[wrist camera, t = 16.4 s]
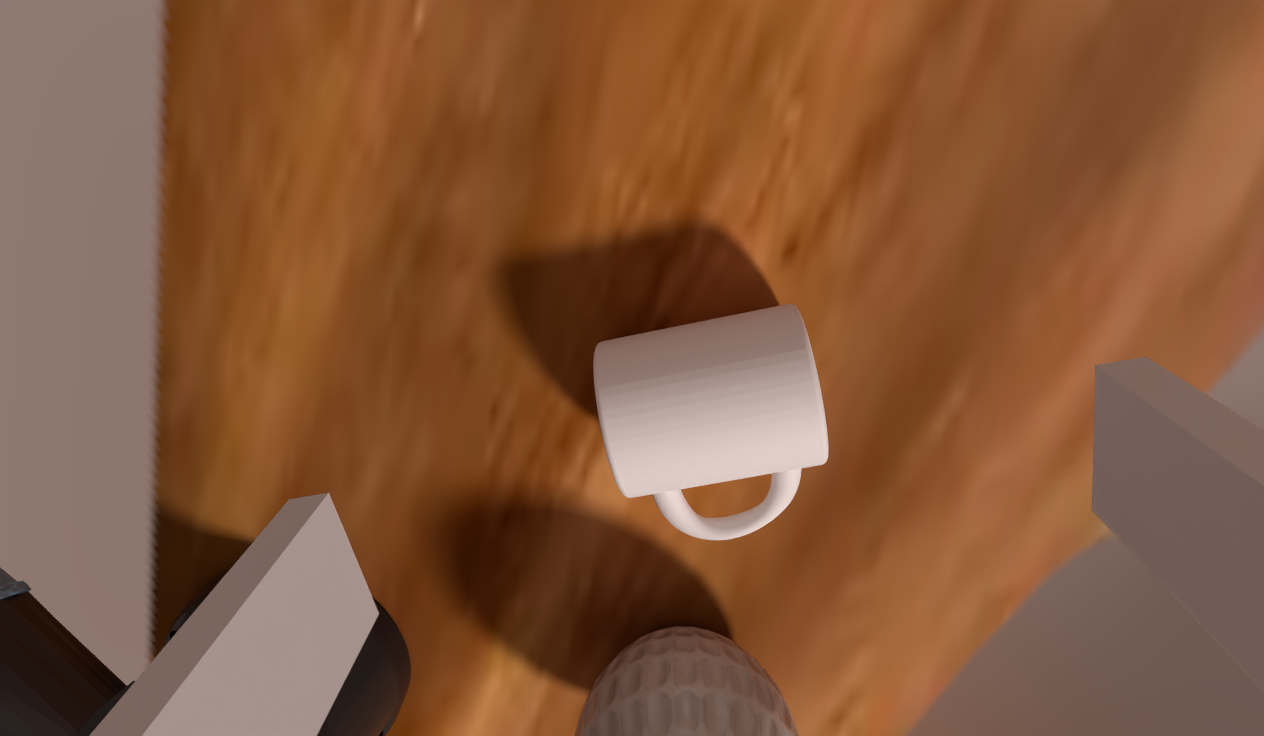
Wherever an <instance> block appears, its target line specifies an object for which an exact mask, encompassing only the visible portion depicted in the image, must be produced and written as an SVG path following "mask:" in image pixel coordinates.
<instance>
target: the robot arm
mask: <svg viewBox="0 0 1264 736" xmlns="http://www.w3.org/2000/svg"><path fill="white" fill-rule="evenodd" d="M1092 511H1093V512H1094V513H1095V514H1096V515H1097V516H1098V517H1099V518H1100V519H1101V520H1102V521H1103V522H1104V523H1105V525H1106V526H1107V527H1108V528H1109V529H1110V530H1111V531H1112V532H1113V533H1114V534H1115V535H1116V536H1117V537H1118V538H1119V539H1120V540H1121V541H1122V543H1123V544H1125V546H1126V547H1127V548H1128V549H1129V550H1130V551H1131V552H1132V553H1133V554H1134V555H1135V556H1136V557H1137V558H1138V559H1139V561H1140V562H1141V563H1142V564H1143V565H1144V566H1145V567H1146V568H1147V569H1148V570H1149V571H1150V572H1151V573H1152V574H1153V575H1154V576H1155V578H1156V579H1157V580H1158V581H1159V582H1160V583H1161V584H1162V585H1163V586H1164V587H1165V588H1166V589H1167V590H1168V591H1169V592H1170V593H1171V594H1172V596H1173V597H1174V598H1175V599H1176V600H1177V601H1178V602H1179V603H1180V604H1181V605H1182V606H1183V607H1184V608H1185V609H1186V611H1187V612H1188V613H1189V614H1190V615H1191V616H1192V617H1193V618H1194V619H1195V620H1196V621H1197V622H1198V623H1199V624H1200V625H1201V626H1202V627H1203V629H1204V630H1205V631H1206V632H1207V633H1208V634H1209V635H1210V636H1211V637H1212V638H1213V639H1214V640H1215V641H1216V642H1217V643H1218V644H1219V645H1220V646H1221V647H1222V649H1223V650H1224V651H1225V652H1226V653H1227V654H1228V655H1229V656H1230V657H1231V658H1232V659H1233V660H1234V661H1235V663H1237V665H1238V666H1239V667H1240V668H1241V669H1242V670H1243V671H1244V672H1245V673H1246V674H1247V675H1248V676H1249V677H1250V678H1251V679H1252V681H1253V682H1254V683H1255V684H1256V685H1257V686H1258V687H1259V688H1260V689H1261V690H1262V691H1263V692H1264V430H1263V429H1261V428H1259V427H1257V426H1256V425H1255V424H1253V423H1251V422H1250V421H1248V420H1247V419H1245V418H1243V417H1242V416H1240V415H1238V414H1237V413H1235V412H1234V411H1232V410H1230V409H1229V408H1227V407H1225V406H1224V405H1222V404H1221V403H1219V402H1218V401H1216V400H1214V399H1213V398H1211V397H1210V396H1208V395H1206V394H1205V393H1203V392H1202V391H1200V390H1198V389H1197V388H1195V387H1194V386H1192V385H1190V384H1189V383H1187V382H1186V381H1184V380H1182V379H1181V378H1179V377H1178V376H1176V375H1174V374H1173V373H1171V372H1170V371H1168V370H1166V369H1165V368H1163V367H1162V366H1160V365H1158V364H1157V363H1155V362H1154V361H1152V360H1150V359H1149V358H1147V357H1142V358H1136V359H1130V360H1124V361H1118V362H1112V363H1106V364H1100V365H1095V401H1094V442H1093V483H1092ZM30 590H31V588H30V587H29V586H28V585H27V584H26V583H25V582H23V581H20V582H17V581H16V580H15V579H13V578H12V577H11V576H10V575H9V574H7V573H6V572H5V571H4V570H2V569H1V568H0V736H385V735H386V734H387V733H388V731H389V730H390V728H391V727H392V725H393V723H394V722H395V720H396V717H397V715H398V713H399V710H400V708H401V705H402V703H403V701H404V698H405V696H406V693H407V690H408V687H409V683H410V675H411V667H410V658H409V654H408V650H407V647H406V644H405V641H404V639H403V637H402V635H401V633H400V631H399V629H398V628H397V626H396V625H395V623H394V622H393V621H392V619H391V618H390V617H389V615H388V614H387V613H386V612H385V611H384V610H383V609H382V608H381V607H380V606H379V605H378V604H377V603H376V602H375V601H374V600H373V598H372V595H371V593H370V591H369V588H368V586H367V583H366V581H365V579H364V576H363V574H362V571H361V569H360V567H359V564H358V562H357V559H356V557H355V555H354V552H353V550H352V547H351V545H350V543H349V540H348V538H347V535H346V533H345V531H344V528H343V526H342V523H341V521H340V519H339V516H338V514H337V512H336V509H335V507H334V504H333V502H332V500H331V497H330V495H329V493H325V494H319V495H313V496H307V497H301V498H295V499H289V500H288V501H287V503H286V504H285V505H284V506H283V507H282V509H281V510H280V511H279V512H278V513H277V514H276V516H275V517H274V518H273V519H272V520H271V522H270V523H269V524H268V525H267V526H266V527H265V529H264V530H263V531H262V532H261V533H260V535H259V536H258V537H257V538H256V539H255V540H254V542H253V543H252V544H251V545H250V546H249V548H248V549H247V550H246V551H245V552H244V553H243V555H242V556H241V557H240V558H239V559H238V561H237V562H236V563H235V564H234V565H233V566H232V568H231V569H230V570H229V571H228V572H226V573H223V574H221V575H220V576H218V577H216V578H214V579H213V580H211V581H210V582H209V583H207V584H206V585H205V586H204V587H203V588H202V589H201V590H200V591H199V592H198V593H197V594H196V595H195V596H194V598H193V599H192V600H191V601H190V602H189V603H188V605H187V606H186V607H185V608H184V609H183V610H182V612H181V613H180V614H179V615H178V617H177V618H176V620H175V621H174V623H173V624H172V626H171V628H170V630H169V632H168V635H167V637H166V640H165V643H164V647H163V649H162V650H161V652H160V653H159V654H158V655H157V656H156V657H155V659H154V660H153V661H152V662H151V663H150V665H149V666H148V667H147V668H146V669H145V671H144V672H143V673H142V674H141V675H140V677H139V678H138V679H137V680H136V681H133V682H131V683H130V684H129V685H128V686H126V685H125V684H124V683H123V682H122V681H121V680H120V679H119V678H118V677H117V676H116V675H115V674H114V673H113V672H112V671H110V670H109V669H108V668H107V667H106V666H105V665H104V664H103V663H102V662H101V661H100V660H99V659H98V658H97V657H96V656H95V655H93V654H92V653H91V652H90V651H89V650H88V649H87V648H86V647H85V646H84V645H83V644H82V643H81V642H79V640H78V639H77V638H75V637H74V636H73V635H72V634H71V633H70V632H69V631H68V630H67V629H66V628H65V627H64V626H63V625H61V623H60V622H59V621H57V620H56V619H55V618H54V617H53V616H52V615H51V614H50V613H49V612H48V611H47V610H46V609H45V608H44V607H43V606H42V605H41V604H40V603H39V602H38V601H37V600H36V599H35V598H34V597H33V596H32V595H31V594H30V593H29V592H28V591H30Z"/></svg>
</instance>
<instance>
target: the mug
mask: <svg viewBox="0 0 1264 736" xmlns="http://www.w3.org/2000/svg"><path fill="white" fill-rule="evenodd" d="M593 372H594V387H595V396H596V404H597V410H598V416H599V422H600V427H601V432H602V437H603V442H604V446H605V450H606V454H607V457H608V461H609V464H610V468H611V471H612V474H613V476H614V479H615V481H616V484H617V486H618V488H619V490H620V491H621V493H622V494H623V495H624V496H626V497H628V498H633V497H639V496H645V495H650V494H652V495H653V497H654V499H655V502H656V504H657V506H658V507H659V509H660V511H661V512H662V514H663V515H664V516H665V518H666V519H667V520H668V521H669V522H670V523H671V524H672V525H673V526H675V527H676V528H677V529H679V530H680V531H682V532H684V533H686V534H688V535H691V536H693V537H697V538H701V539H707V540H727V539H733V538H737V537H741V536H744V535H746V534H749V533H751V532H753V531H755V530H757V529H759V528H761V527H763V526H764V525H766V524H767V523H769V522H770V521H772V520H773V519H774V518H776V517H777V516H778V515H779V514H780V513H781V512H782V511H783V510H784V509H785V508H786V507H787V506H788V505H789V503H790V502H791V500H792V499H793V497H794V495H795V493H796V491H797V489H798V486H799V482H800V477H801V468H805V467H811V466H817V465H822V464H824V463H825V462H826V461H827V458H828V435H827V426H826V419H825V412H824V406H823V400H822V394H821V389H820V384H819V379H818V374H817V370H816V365H815V361H814V356H813V352H812V348H811V345H810V341H809V337H808V334H807V331H806V327H805V324H804V321H803V319H802V316H801V314H800V312H799V310H798V308H797V307H796V306H795V305H794V304H785V305H780V306H775V307H770V308H765V309H760V310H755V311H750V312H745V313H741V314H736V315H731V316H726V317H721V318H716V319H711V320H706V321H701V322H696V323H691V324H686V325H681V326H676V327H671V328H666V329H661V330H656V331H651V332H646V333H641V334H636V335H631V336H626V337H621V338H616V339H611V340H606V341H602V342H599V343H598V344H597V346H596V348H595V352H594V361H593ZM771 473H772V480H771V486H770V489H769V492H768V495H767V497H766V498H765V500H764V501H763V502H762V503H761V504H759V505H758V506H756V507H755V508H753V509H750V510H748V511H745V512H742V513H739V514H736V515H732V516H727V517H721V518H705V517H702V516H699V515H698V514H696V513H695V512H694V511H693V510H692V509H691V507H690V506H689V505H688V503H687V501H686V500H685V498H684V496H683V494H682V492H681V489H685V488H691V487H696V486H702V485H708V484H714V483H719V482H725V481H731V480H737V479H742V478H748V477H754V476H760V475H765V474H771Z"/></svg>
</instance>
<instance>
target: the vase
mask: <svg viewBox="0 0 1264 736" xmlns="http://www.w3.org/2000/svg"><path fill="white" fill-rule="evenodd" d="M575 736H798V734H797V730H796V727H795V724H794V720H793V717H792V714H791V711H790V709H789V707H788V705H787V703H786V701H785V699H784V698H783V696H782V694H781V692H780V690H779V688H778V687H777V685H776V683H775V682H774V680H773V679H772V678H771V677H770V675H769V674H768V673H767V672H766V670H765V669H764V668H763V667H762V666H761V665H760V664H759V663H758V662H757V661H756V660H755V659H754V658H753V657H752V656H751V655H750V654H749V653H748V652H747V651H745V650H744V649H743V648H741V647H740V646H739V645H738V644H736V643H735V642H733V641H732V640H730V639H729V638H727V637H725V636H723V635H720V634H718V633H716V632H712V631H709V630H706V629H703V628H698V627H692V626H674V627H668V628H663V629H660V630H657V631H654V632H651V633H648V634H646V635H644V636H642V637H640V638H638V639H637V640H635V641H634V642H632V643H631V644H630V645H628V646H627V647H626V648H625V649H624V650H622V651H621V652H620V653H619V654H618V655H617V656H616V657H615V658H614V659H613V660H612V661H611V662H610V663H609V664H608V666H607V667H606V668H605V669H604V670H603V672H602V673H601V674H600V676H599V677H598V678H597V680H596V681H595V683H594V684H593V686H592V689H591V691H590V693H589V695H588V697H587V699H586V701H585V703H584V706H583V708H582V710H581V713H580V717H579V721H578V725H577V729H576V733H575Z"/></svg>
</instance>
